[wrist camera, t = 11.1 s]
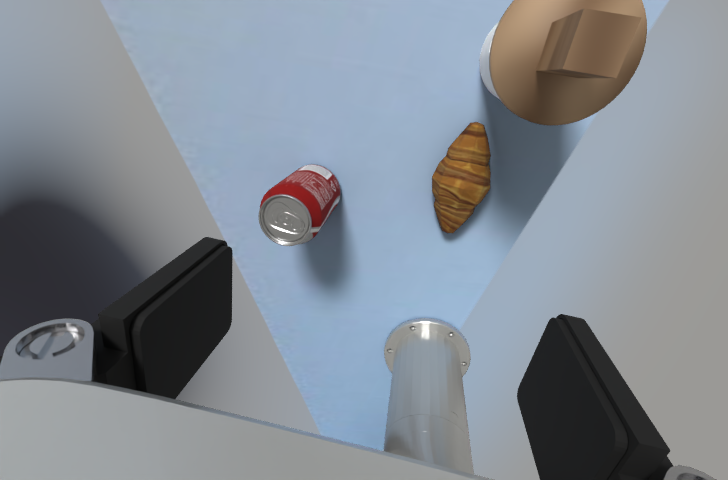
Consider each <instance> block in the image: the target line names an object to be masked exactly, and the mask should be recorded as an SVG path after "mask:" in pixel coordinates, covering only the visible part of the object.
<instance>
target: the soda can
mask: <svg viewBox="0 0 728 480" xmlns="http://www.w3.org/2000/svg"><path fill="white" fill-rule="evenodd" d="M340 195H341V190H340V185H339V182H338V180H337V178H336V177H335V175H334V174H333V173H332V172H331V171H330V170H328V169H327V168H325V167H323V166H320V165H315V164H311V165H305V166H303V167H301V168H299V169H298V170H296V171H295V172H294V173H292V174H291V175H289V176H288V177H287V178H285V179H284V180H282V181H281V182H279V183H278V184H277V185H275V186H274V187H272V188H271V189H270V190H269V191H268V192H267V193H266V194H265V195H264V197H263V199H262V201H261V205H260V211H259V223H260V226H261V228H262V230H263V232H264V233H265V235H266V236H267V237H268V238H269V239H270V240H272V241H273V242H275V243H277V244H280V245H284V246H294V245H297V244H303V243H306V242H308V241H310V240H311V239H312V238H314V237H315V236H316V234H317V233H318V232H319V230H320V229H321V227H322V226H323V225H324V223H325V222H326V220H327V219H328V217H329V216H330V215H331V213H332V212H333V210H334V209H335V207H336V206H337V204H338V202H339V200H340Z"/></svg>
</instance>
